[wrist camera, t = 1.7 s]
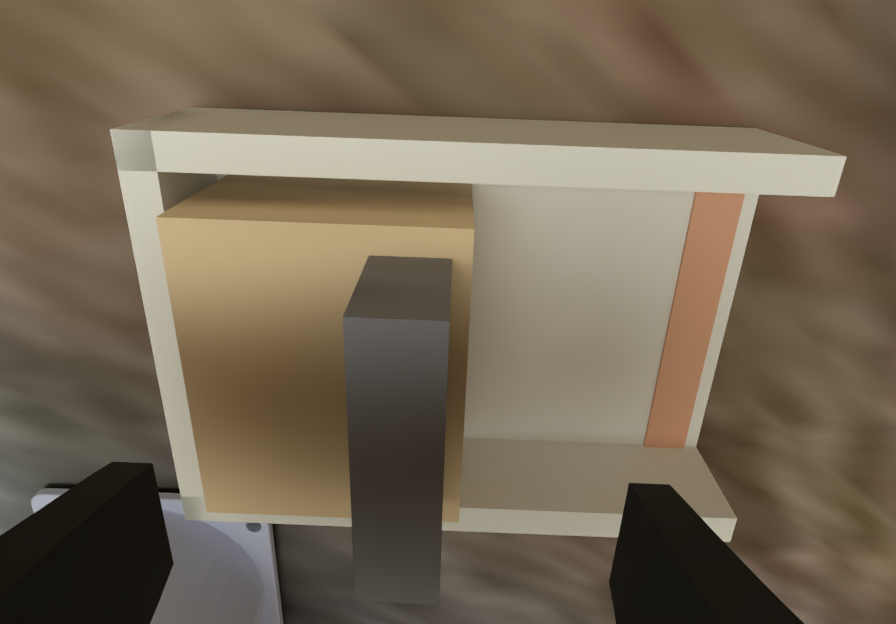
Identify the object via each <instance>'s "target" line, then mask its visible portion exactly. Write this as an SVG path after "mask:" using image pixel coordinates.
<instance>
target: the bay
mask: <svg viewBox="0 0 896 624" xmlns="http://www.w3.org/2000/svg"><path fill="white" fill-rule="evenodd" d="M110 133H111V138H112V144H113V149H114V154H115V159H116V164H117V169H118V175H119V180H120V185H121V190H122V195H123V200H124V206H125V211H126V216H127V221H128V226H129V232H130V237H131V242H132V247H133V252H134V257H135V263H136V268H137V273H138V278H139V283H140V288H141V294H142V299H143V304H144V309H145V314H146V320H147V325H148V330H149V335H150V340H151V345H152V351H153V356H154V361H155V366H156V371H157V376H158V382H159V387H160V392H161V397H162V402H163V408H164V413H165V418H166V423H167V428H168V433H169V439H170V444H171V449H172V454H173V459H174V464H175V470H176V475H177V480H178V485H179V490H180V496H181V501H182V506H183V511H184V516H185V520H197V521H222V522H246V523H271V524H296V525H321V526H345V527H352V519H351V518H338V517H313V516H288V515H264V514H239V513H214V512H207V511H206V505H205V499H204V494H203V488H202V482H201V476H200V470H199V465H198V459H197V453H196V447H195V441H194V436H193V430H192V424H191V418H190V412H189V407H188V401H187V395H186V389H185V383H184V378H183V372H182V366H181V360H180V354H179V349H178V343H177V337H176V331H175V326H174V320H173V314H172V308H171V302H170V297H169V291H168V285H167V279H166V273H165V268H164V262H163V256H162V250H161V244H160V239H159V233H158V227H157V221H156V217H157V216H158V215H160V214H162V213H164V212H165V211H167V210H169V209H170V208H172V207H174V206H175V205H177V204H179V203H180V202H182V201H184V200H185V199H187V198H189V197H191V196H192V195H194V194H196V193H197V192H199V191H201V190H202V189H204V188H206V187H207V186H209V185H211V184H213V183H214V182H216V181H218V180H219V179H221V178H223V177H224V176H226V175H228V174H231V175H258V176H285V177H311V178H338V179H365V180H391V181H418V182H445V183H472V198H473V213H474V228H475V231H474V249H473V268H472V287H471V306H470V325H469V344H468V363H467V381H466V400H465V419H464V438H463V457H462V476H461V495H460V513H459V522H442V530H445V531H469V532H494V533H519V534H544V535H569V536H593V537H618V535H619V530H620V525H621V520H622V515H623V510H624V505H625V500H626V495H627V490H628V485H629V483H646V484H670V485H671V486H672V487H673V488H674V489H675V490H676V492H677V493H678V494H679V495H680V496H681V497H682V498H683V499H684V500H685V501H686V502H687V503H688V504H689V505H690V506H691V508H692V509H693V510H694V511H695V512H696V513H697V514H698V515H699V516H700V517H701V518H702V519H703V520H704V522H705V523H706V524H707V525H708V526H709V527H710V528H711V529H712V530H713V531H714V532H715V533H716V534H717V535H718V536H719V538H720V539H721V540H722V541H723V542H730V541H731V537H732V534H733V531H734V527H735V524H736V521H737V518H736V516H735V514H734V512H733V511H732V509H731V507H730V505H729V504H728V502H727V500H726V498H725V497H724V495H723V493H722V491H721V490H720V488H719V486H718V484H717V483H716V481H715V479H714V477H713V476H712V474H711V472H710V470H709V469H708V467H707V465H706V463H705V462H704V460H703V458H702V456H701V455H700V453H699V451H698V449H697V448H696V445H697V441H698V437H699V433H700V429H701V425H702V421H703V417H704V413H705V409H706V405H707V401H708V397H709V393H710V389H711V385H712V381H713V377H714V373H715V369H716V365H717V361H718V357H719V353H720V349H721V345H722V341H723V337H724V333H725V329H726V325H727V321H728V317H729V313H730V309H731V305H732V301H733V297H734V293H735V289H736V285H737V281H738V277H739V273H740V269H741V265H742V261H743V257H744V253H745V249H746V245H747V241H748V237H749V233H750V229H751V225H752V221H753V217H754V213H755V209H756V205H757V201H758V197H759V194H765V195H792V196H819V197H835V194H836V190H837V187H838V184H839V180H840V177H841V174H842V171H843V167H844V164H845V161H846V157H847V156H844V155H840V154H837V153H834V152H831V151H828V150H824V149H821V148H818V147H815V146H812V145H808V144H805V143H802V142H799V141H796V140H792V139H789V138H786V137H783V136H780V135H776V134H773V133H770V132H767V131H764V130H760V129H757V128H741V127H714V126H686V125H659V124H632V123H605V122H578V121H551V120H524V119H497V118H470V117H443V116H415V115H388V114H361V113H334V112H307V111H280V110H253V109H226V108H199V107H192V108H188V109H184V110H180V111H176V112H173V113H169V114H165V115H161V116H158V117H154V118H150V119H146V120H142V121H139V122H135V123H131V124H127V125H124V126H120V127H116V128H112V129H110Z"/></svg>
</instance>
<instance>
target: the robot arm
mask: <svg viewBox="0 0 896 624" xmlns="http://www.w3.org/2000/svg"><path fill="white" fill-rule="evenodd" d="M31 506H32V509H33V512H34V514H32V515H31V516H29V517H28V518H26V519H25V520H23V521H22V522H20V523H19V524H17V525H16V526H14V527H13V528H11V529H10V530H8V531H7V532H5V533H4V534H2V535H1V536H0V624H283V615H282V607H281V598H280V589H279V581H278V572H277V563H276V555H275V546H274V537H273V529H272V524H271V523H260V524H257V523H246V522H222V521H197V520H185V516H184V511H183V506H182V501H181V496H180V493H159V492H158V487H157V483H156V478H155V473H154V469H153V464H152V463H128V462H111V463H110V464H108V465H107V466H105V467H103V468H102V469H100V470H98V471H97V472H95V473H94V474H92V475H90V476H89V477H87V478H86V479H84V480H83V481H81V482H80V483H78V484H77V485H75V486H74V487H72V488H71V489H59V488H45V489H41V490H40V491H38V492H37V493H36V495H35V496H34V497H33V498H32V500H31ZM609 583H610V589H611V595H612V600H613V606H614V612H615V618H616V624H804V623H803V622H802V621H801V620H800V619H799V618H798V617H797V616H796V615H795V614H794V613H793V612H792V611H791V610H790V609H789V608H788V607H786V606H785V605H784V604H783V603H782V602H781V601H780V600H779V599H778V598H777V597H776V596H775V595H774V594H773V593H772V592H771V591H770V590H769V589H768V587H767V586H766V585H765V584H764V583H763V582H762V581H761V580H760V579H759V578H758V577H757V576H756V575H755V574H754V573H753V572H752V571H751V570H750V569H749V568H748V567H747V566H746V565H745V564H744V563H743V562H742V561H741V560H740V559H739V558H738V557H737V556H736V555H735V553H734V552H733V551H732V550H731V549H730V548H729V547H728V546H727V545H726V544H725V543H724V542H723V541H722V540H721V539H720V538H719V536H718V535H717V534H716V533H715V532H714V531H713V530H712V529H711V528H710V527H709V526H708V525H707V524H706V523H705V522H704V520H703V519H702V518H701V517H700V516H699V515H698V514H697V513H696V512H695V511H694V510H693V509H692V508H691V506H690V505H689V504H688V503H687V502H686V501H685V500H684V499H683V498H682V497H681V496H680V495H679V494H678V493H677V492H676V490H675V489H674V488H673V487H672V486H671V485H670V484H646V483H629V485H628V490H627V495H626V500H625V505H624V510H623V515H622V520H621V525H620V530H619V535H618V540H617V545H616V550H615V555H614V560H613V565H612V571H611V576H610V581H609Z"/></svg>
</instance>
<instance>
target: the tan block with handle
mask: <svg viewBox="0 0 896 624" xmlns="http://www.w3.org/2000/svg"><path fill="white" fill-rule="evenodd" d="M156 221H157V227H158V233H159V239H160V244H161V250H162V256H163V262H164V268H165V273H166V279H167V285H168V291H169V297H170V302H171V308H172V314H173V320H174V326H175V331H176V337H177V343H178V349H179V354H180V360H181V366H182V372H183V378H184V383H185V389H186V395H187V401H188V407H189V412H190V418H191V424H192V430H193V436H194V441H195V447H196V453H197V459H198V465H199V470H200V476H201V482H202V488H203V494H204V499H205V505H206V511H207V512H214V513H239V514H264V515H288V516H313V517H338V518H351V519H352V542H353V565H354V588H355V601H356V602H381V603H405V604H430V605H439V587H440V562H441V537H442V522H459V513H460V495H461V476H462V457H463V438H464V419H465V400H466V381H467V363H468V344H469V325H470V306H471V287H472V268H473V249H474V231H475V228H474V213H473V198H472V183H445V182H418V181H391V180H365V179H338V178H311V177H285V176H258V175H231V174H228V175H226V176H224V177H223V178H221V179H219V180H218V181H216V182H214V183H213V184H211V185H209V186H207V187H206V188H204V189H202V190H201V191H199V192H197V193H196V194H194V195H192V196H191V197H189V198H187V199H185V200H184V201H182V202H180V203H179V204H177V205H175V206H174V207H172V208H170V209H169V210H167V211H165V212H164V213H162V214H160V215H158V216H157V217H156Z"/></svg>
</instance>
